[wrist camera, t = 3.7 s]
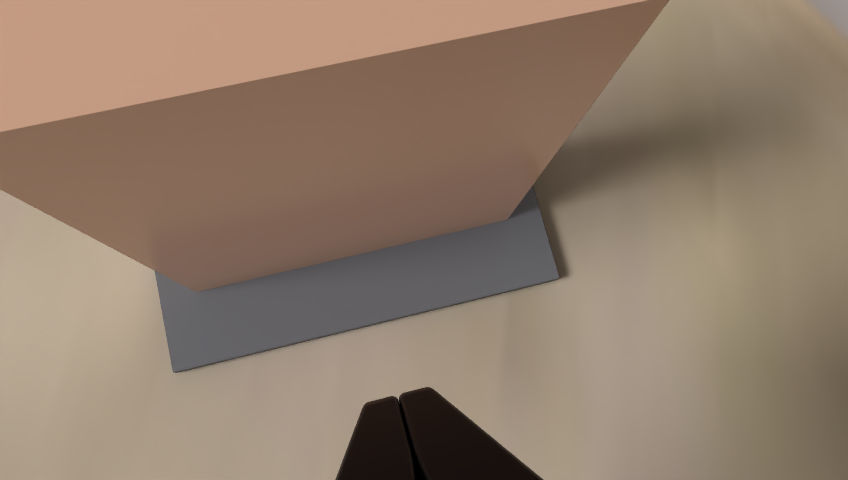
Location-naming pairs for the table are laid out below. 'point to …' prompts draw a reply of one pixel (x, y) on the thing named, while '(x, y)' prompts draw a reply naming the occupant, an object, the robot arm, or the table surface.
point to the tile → (292, 119)
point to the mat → (355, 290)
